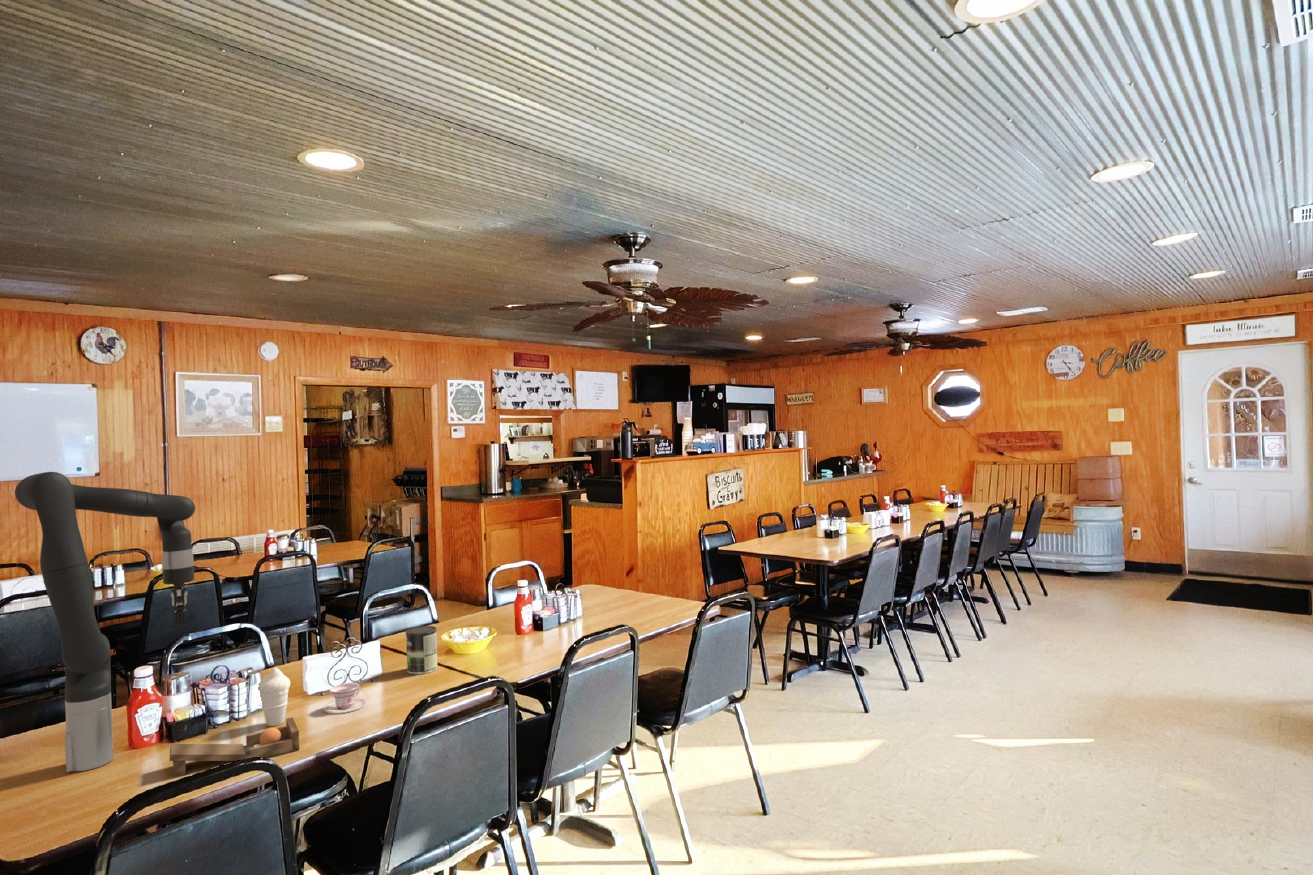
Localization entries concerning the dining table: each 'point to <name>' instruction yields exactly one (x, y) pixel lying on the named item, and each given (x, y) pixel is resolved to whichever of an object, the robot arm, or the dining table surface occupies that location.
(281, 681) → the soft serve ice cream cone
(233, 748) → the ramp
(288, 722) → the box
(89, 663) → the robot arm
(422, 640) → the coffee can
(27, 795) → the dining table surface
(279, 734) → the ball
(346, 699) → the teacup
